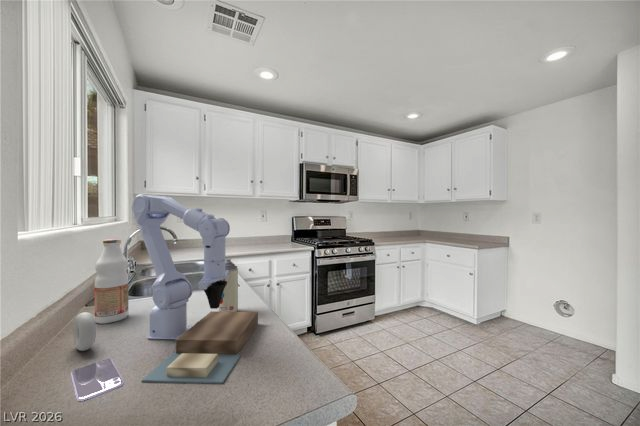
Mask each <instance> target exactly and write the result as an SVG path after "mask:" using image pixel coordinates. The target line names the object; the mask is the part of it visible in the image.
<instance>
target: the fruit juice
mask: <svg viewBox="0 0 640 426" xmlns="http://www.w3.org/2000/svg"><path fill="white" fill-rule="evenodd" d="M121 242H122V240H121V239H120V238H112V239H111V238H109V239H103V240H102V243H103V249H102V252H101V254H100V255H99V258H98V259H97V260H96V262H95V266H94V268H95V272H96V277H95V279H94V319H95V324H110V323H115V322H119V321H122V320H124V319H126V318H127V317H128V316H129V275H128V272H127V270H128V266H129V261H128V259H127V258H126V256H125V255H124V253H123V250H122V248H121Z"/></svg>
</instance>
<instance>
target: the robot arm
mask: <svg viewBox="0 0 640 426" xmlns="http://www.w3.org/2000/svg"><path fill="white" fill-rule="evenodd" d="M131 210H132V213H133V216H134V219H135V221H136V224H138V229H139V232H140V235H141V238H142V240H143V242H144V245H145V249H146V251H147V253H148V257H149V259H150V262H151V263H152V267H153V269H154V272H155V275H156V279H155V280H154V282H153V283H152V284H151V286H150V287H151V291H152V300H153V303H154V304H155V306H153V308H152V309H151V310H150V313H149V336H147V339H148V340H176V339H177V338H179V337H180V336H181V335H182V334H184V333H185V332H186V331H187V330H189V329H190V328H191V327H192V326H187V325H188V324H187V320H188V319H187V316H188V313H187V309H188V307H187V304H188V302H189V298H191V297H192V294H193V286H192V283H191V282H190V281H189V280H188V279H187V277H186V274H184V273H183V272H180V271H178V270H177V269H176V266H175V262H174V260H173V257H172V255H171V252H170V250H169V247H168V245H167V242H166V239H165V237H164V234H163V232H162V229H161V225H162V224H164V223H165V222H166V221H167V219H168V217H169V216H170V214H171V215H173V216H176V217H177V218H179V219H182V222H183V223H184V225H185V226H186V227H189V228H191V229H193V230H195V231H196V232H198V233H199V235H200V237H201V239H202V244H203V276H202V278H201V279H200V281H198V283H197V284H198V287H197V288H198V290H203V292H204V293H205V295H206V298H207V301H208V304H209V308H210V309H214V310H215V309H216V310H218V309H219V306H220V302H221V297H222V294H223V291H224V288H225V286H226V285H227V281H222V280H223V279H228V278H229V275H228V270H225V262H226V237H228V235H229V233H230V230H231V229H230V223H229V222H228V221H227V219H225V218H223V217H221V218H220V217H219V218H216V217H215V215H214V214H208V213H206V212H204V211H203V208H201V207H193V208H188V207H186V206H185V205H183V204H181V203H180V202H178V201H177V200H175V199H174V198H173V197H170V196H168V195H151V194H150V195H149V194H145V193H139V194H137V195H136V196H135V197H134V199H133V201H132V205H131Z"/></svg>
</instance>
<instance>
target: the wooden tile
mask: <svg viewBox="0 0 640 426" xmlns="http://www.w3.org/2000/svg"><path fill="white" fill-rule="evenodd" d="M217 363H218V354H196V353H182V354H181V355H180V356H179V357H177V358H176V359H175V360H174V361H173V362H172V363H171V364H170V365H169V366H168V367H167V376H171V377H207V376H208V374H209V373H210V372H211V370H212V369H213V368H214V366H215V365H216V364H217Z"/></svg>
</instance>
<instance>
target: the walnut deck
mask: <svg viewBox="0 0 640 426" xmlns="http://www.w3.org/2000/svg"><path fill="white" fill-rule="evenodd" d="M258 325H259V312H258V311H238V312H219V311H210V312H209V313H207V314H206V315H205V316H203V317H202V318H201V319H200V320H198V321H197V322H196V323H195V324H194V325H192V326H190V327H191V328H190V329H189V330H187V331H186V332H185V333H184V334H182V335H181V336H180V337H179V338H177V339H175V352H176V354H182V353H196V354H229V355H237V353H241V350H242V349H243V347H244V345H245V344H246V343H247V341H248V340H249V338H250V337H251V336H252V333H253V332H254V330H256V328H257V326H258Z"/></svg>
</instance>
